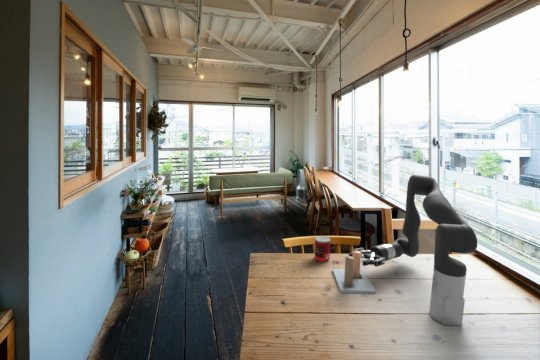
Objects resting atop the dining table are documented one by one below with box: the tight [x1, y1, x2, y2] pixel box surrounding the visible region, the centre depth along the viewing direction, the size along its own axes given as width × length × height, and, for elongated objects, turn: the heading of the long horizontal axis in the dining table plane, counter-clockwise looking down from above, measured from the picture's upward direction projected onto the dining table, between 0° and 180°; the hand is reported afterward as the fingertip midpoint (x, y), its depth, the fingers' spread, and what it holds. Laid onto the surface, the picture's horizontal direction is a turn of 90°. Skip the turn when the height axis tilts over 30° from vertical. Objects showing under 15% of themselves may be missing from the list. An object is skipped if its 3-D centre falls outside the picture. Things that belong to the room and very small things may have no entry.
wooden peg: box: [352, 250, 362, 279], centre depth 122 cm, size 3×3×12 cm
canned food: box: [314, 235, 331, 263], centre depth 141 cm, size 8×8×11 cm
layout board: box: [332, 255, 377, 294], centre depth 119 cm, size 18×14×13 cm
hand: (356, 259), depth 121 cm, fingers open, 8 cm apart
